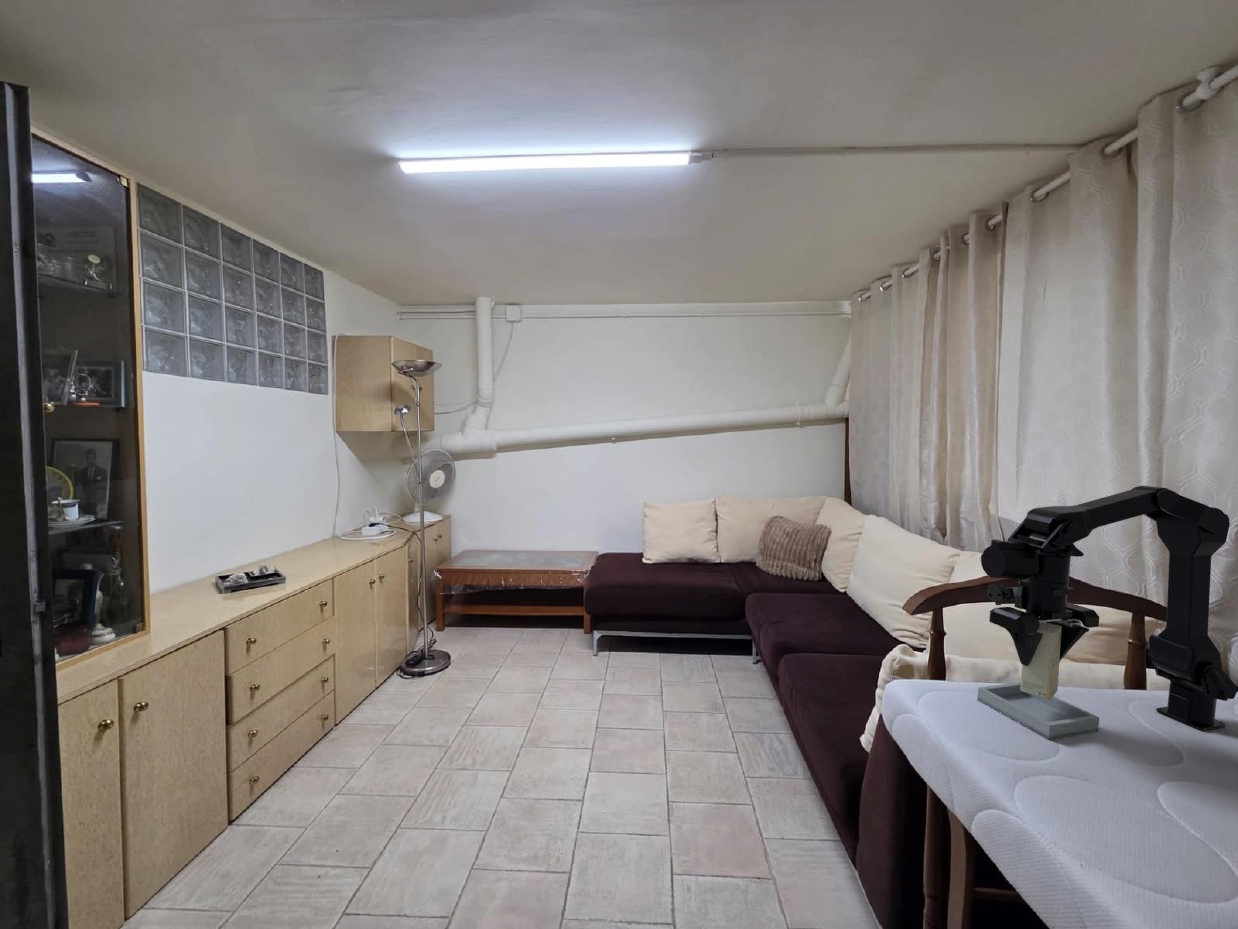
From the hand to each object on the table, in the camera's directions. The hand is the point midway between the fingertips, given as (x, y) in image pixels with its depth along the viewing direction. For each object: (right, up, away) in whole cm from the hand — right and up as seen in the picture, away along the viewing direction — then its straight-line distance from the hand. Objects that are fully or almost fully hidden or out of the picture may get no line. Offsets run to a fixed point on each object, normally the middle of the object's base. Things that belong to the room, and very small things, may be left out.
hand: (1040, 663), depth 90 cm
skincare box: (0, -5, 0) cm, 5 cm away
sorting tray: (0, -10, +1) cm, 10 cm away
